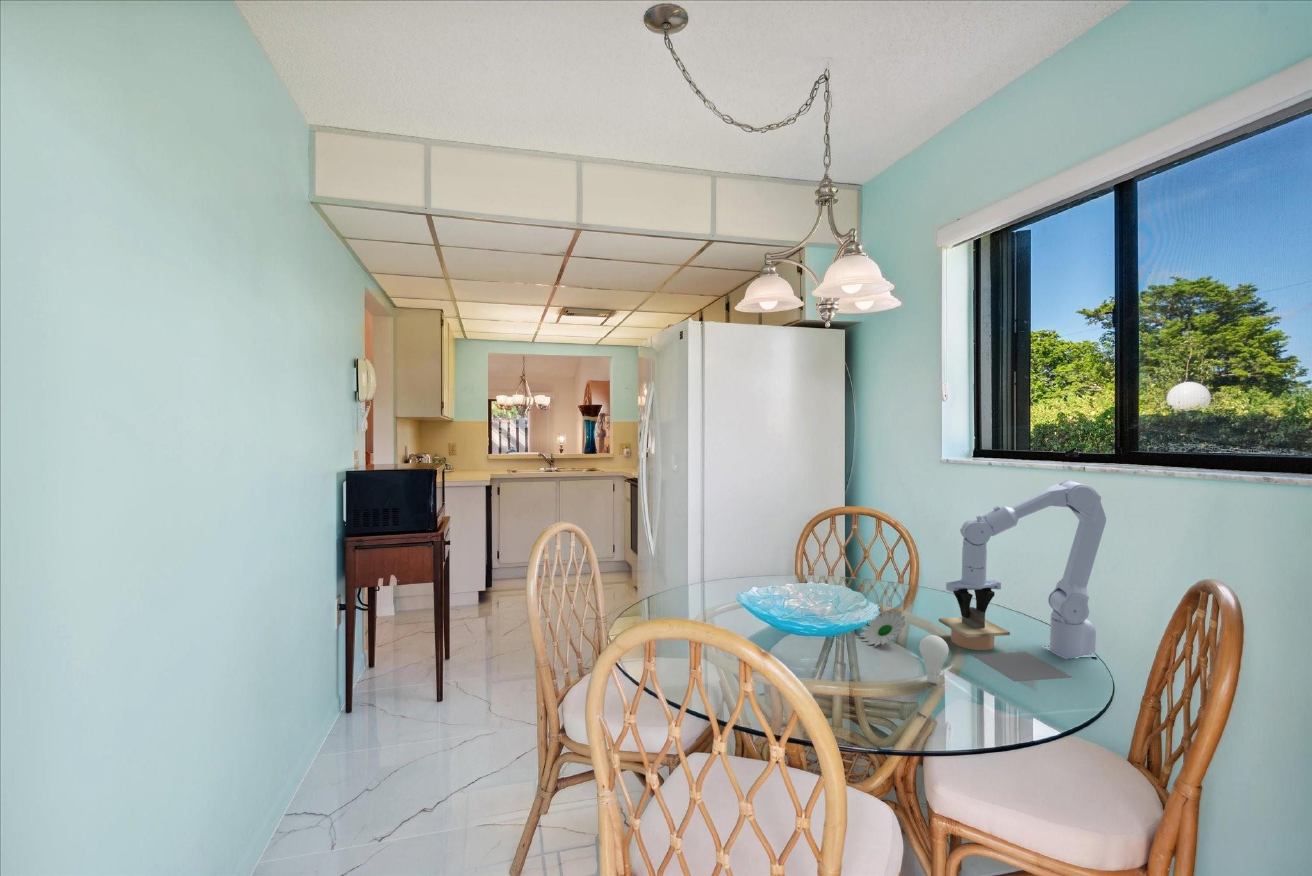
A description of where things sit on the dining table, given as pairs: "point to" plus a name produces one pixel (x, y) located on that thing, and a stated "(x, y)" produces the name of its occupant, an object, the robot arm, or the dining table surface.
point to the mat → (1021, 666)
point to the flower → (883, 628)
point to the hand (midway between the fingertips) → (972, 616)
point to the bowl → (972, 641)
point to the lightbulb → (933, 656)
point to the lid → (974, 625)
